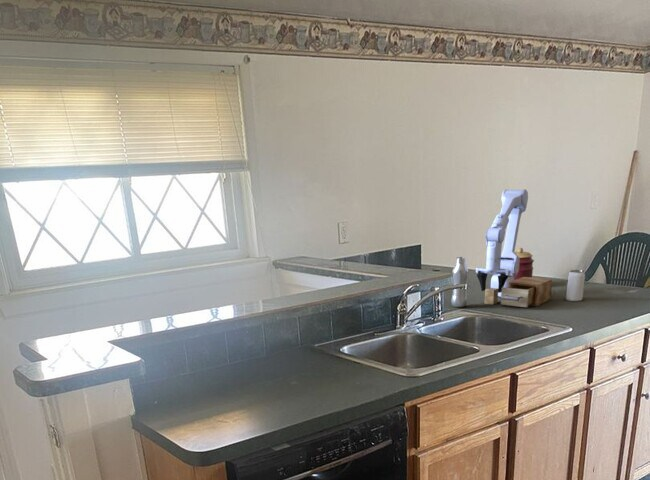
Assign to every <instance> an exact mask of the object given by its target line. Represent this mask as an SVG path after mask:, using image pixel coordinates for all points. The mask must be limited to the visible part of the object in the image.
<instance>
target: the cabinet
mask: <svg viewBox="0 0 650 480" xmlns="http://www.w3.org/2000/svg"><path fill="white" fill-rule="evenodd" d="M511 285H523V286H534V287H536V294H535V302H534V303H532V304H530V305H529V306H531V307H532V306H533V307H537V306H539V305H541V304H544V303H546V302H549V301H551V298H552V287H553V279H552V278H543V277H533V276H532V277H522V278H519V279H517V280H514V281H511V282H509V286H511Z"/></svg>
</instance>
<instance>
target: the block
mask: <svg viewBox="0 0 650 480" xmlns="http://www.w3.org/2000/svg"><path fill="white" fill-rule="evenodd" d="M498 298H499V296H498V288H491V287H488V288H485V290H484V304H486V305H496V304H497V303H498V301H499V299H498Z"/></svg>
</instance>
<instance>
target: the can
mask: <svg viewBox="0 0 650 480" xmlns="http://www.w3.org/2000/svg"><path fill="white" fill-rule="evenodd" d="M585 279H586V273H585V270H582V269H571V270H570V271H569V273H568V277H567V286H566V295H565V300H566V301H568V302H582V300H583V296H584V288H585V281H586V280H585Z"/></svg>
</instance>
